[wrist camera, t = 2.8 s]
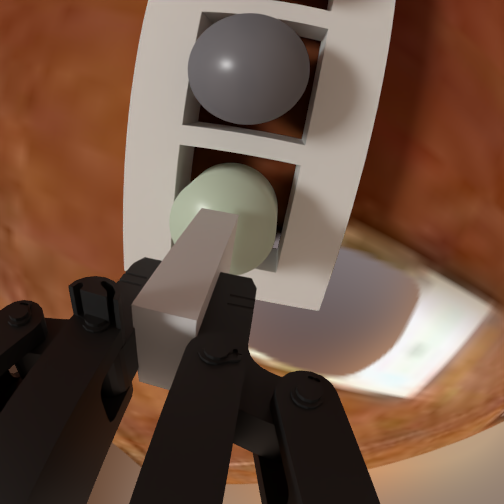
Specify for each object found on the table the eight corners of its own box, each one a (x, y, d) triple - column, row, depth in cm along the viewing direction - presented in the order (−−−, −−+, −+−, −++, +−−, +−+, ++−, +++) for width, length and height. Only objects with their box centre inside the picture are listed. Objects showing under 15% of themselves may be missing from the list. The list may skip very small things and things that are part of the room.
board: (196, -84, 10) (183, -105, 7) (387, -57, 10) (401, -77, 7) (142, 249, 21) (124, 270, 18) (315, 283, 21) (318, 310, 18)
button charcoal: (214, 25, 12) (198, 9, 9) (312, 39, 12) (319, 24, 9) (198, 113, 14) (179, 116, 12) (294, 129, 14) (297, 135, 12)
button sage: (192, 155, 15) (173, 167, 13) (286, 172, 15) (286, 187, 13) (184, 239, 18) (166, 265, 15) (268, 256, 17) (264, 285, 15)
